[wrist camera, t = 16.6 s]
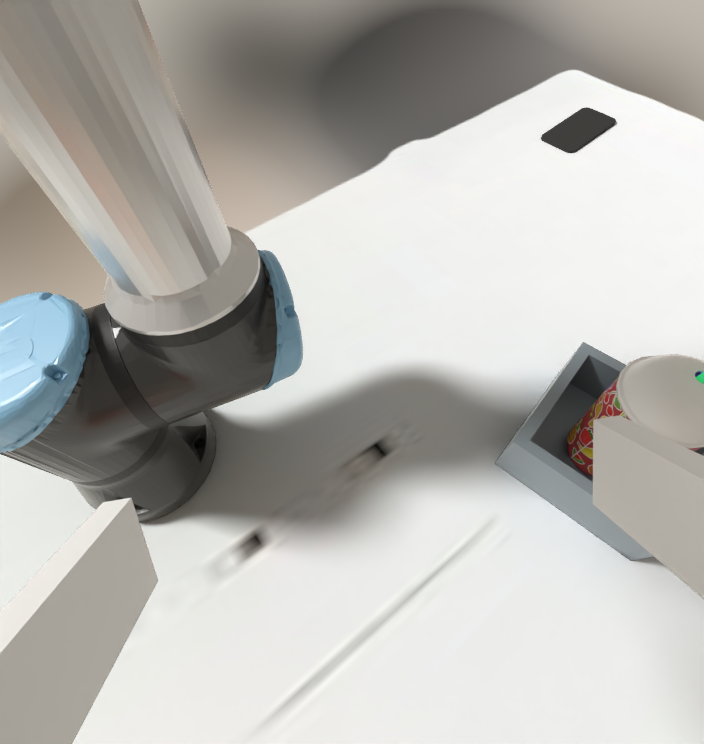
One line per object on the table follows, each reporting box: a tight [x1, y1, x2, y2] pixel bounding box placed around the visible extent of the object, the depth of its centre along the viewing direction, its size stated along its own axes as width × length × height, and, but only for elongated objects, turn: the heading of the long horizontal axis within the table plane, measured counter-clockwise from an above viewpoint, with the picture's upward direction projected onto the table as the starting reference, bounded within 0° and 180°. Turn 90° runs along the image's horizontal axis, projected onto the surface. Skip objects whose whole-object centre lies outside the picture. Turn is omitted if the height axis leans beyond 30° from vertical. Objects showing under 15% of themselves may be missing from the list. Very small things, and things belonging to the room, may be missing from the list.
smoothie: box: [567, 354, 704, 477], centre depth 36 cm, size 8×8×20 cm
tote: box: [495, 342, 704, 561], centre depth 42 cm, size 15×15×7 cm
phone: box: [541, 108, 616, 153], centre depth 77 cm, size 7×1×15 cm
